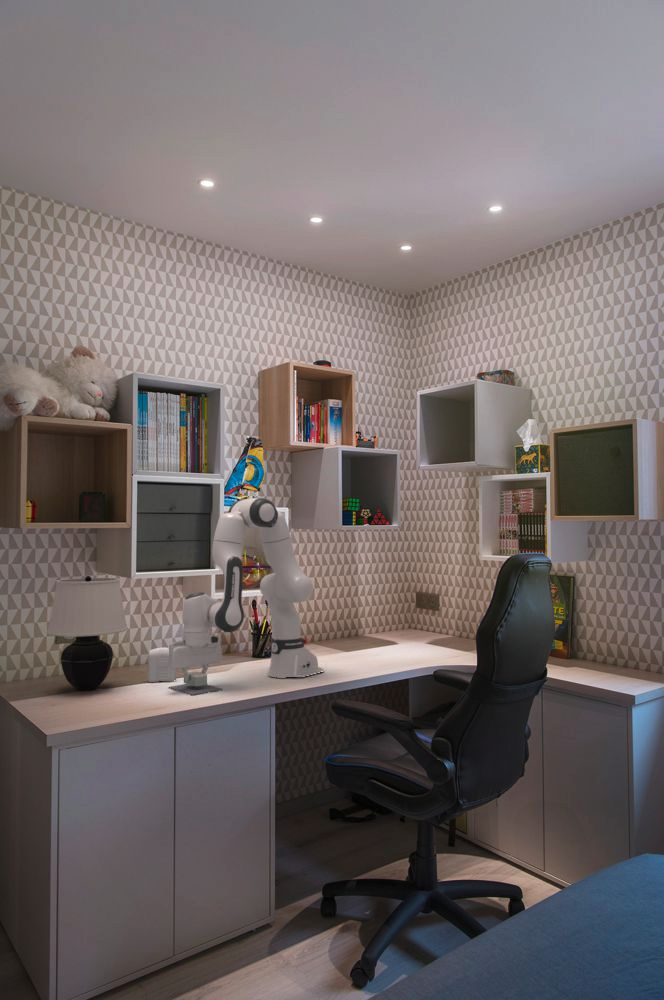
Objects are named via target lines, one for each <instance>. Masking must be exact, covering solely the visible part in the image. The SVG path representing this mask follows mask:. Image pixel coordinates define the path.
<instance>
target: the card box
mask: <svg viewBox="0 0 664 1000" xmlns="http://www.w3.org/2000/svg"><path fill="white" fill-rule="evenodd" d="M187 672H188V674H189V675H191V680H188V681H187V680H185V675H184V674H183V684H190V685H193V686H200V685H206V684H207V685H208V673H206V674H204V673H200V672H201V671H200V672H199V671H195V670H192V671H187Z"/></svg>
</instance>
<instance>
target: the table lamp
mask: <svg viewBox="0 0 664 1000" xmlns="http://www.w3.org/2000/svg"><path fill="white" fill-rule="evenodd" d="M50 613H51V614H50V618H49V622H48V623H49V624H48V629H47V630H46V633H47V635H49V636H55V637H68V638H69V637H76V638H75V640H74V641H72V642H71V643H70V644H68V646H65V647H64V649H63V650H62V652H61V654H60V655H61V656H60V662H61V669H62V672H63V675H64V678H65V680H66V681H67V682H68V683H69V684H70V685H71V686H72V687H73V688H75V689H76V690H78V691H85V692H86V691H92V690H93V691H94V690H95V689H97V688H98V687H99V686H100V685H101V684H102V683H103V682H104V681H105V679H106V678H107V676H109V675H108V674H109V672H110V670H111V666H112V663H113V659H114V658H113V657H114V651H113V649H112V648H113V647H112V646H111V645H110V644H109V643H107V642H105V641H104V640H102V639H100V636H105V635H114V634H119V633H122V632H126V631H127V630H128V629H129V628H128V626H127V620H126V615H125V609H124V604H123V599H122V592H121V587H120V578H114V577H92V576H91V575H87V576H85V577H83V578H82V577H81V578H77V577H76V578H64V579H58V580H56V587H55V592H54V597H53V602H52V607H51V612H50Z"/></svg>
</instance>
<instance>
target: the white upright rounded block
mask: <svg viewBox="0 0 664 1000" xmlns="http://www.w3.org/2000/svg"><path fill="white" fill-rule="evenodd" d="M148 652H149V653H148V654H147V655H148V656H147V682H148V683H160V682H159V681H167V682H175V681H174V680H177V669H175V670H173V669H170V668H169V667H168V657H169V647H157V648H153V649H150V650H149V651H148Z"/></svg>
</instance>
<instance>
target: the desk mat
mask: <svg viewBox="0 0 664 1000" xmlns="http://www.w3.org/2000/svg"><path fill="white" fill-rule="evenodd" d="M167 688H168V689H169V688H171V689H170V690H172V689H175V690H178V691H177V692H179V691H180V693H182V692H183V694H185V693H187V694H186V695H188V694H190V695H189V696H192V695H194V696H198V694H199V695H204V693H205V694H209V693H208V692H210V693H214V691H215V692H220V691H219V690H221V691H223V688H220V687H217V686H215V685H210V684H208V683H207V684H206V685H200V686H193V685H190V684H186V683H182V684H176V685H171V686H168V687H167ZM175 690H174V691H175Z"/></svg>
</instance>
